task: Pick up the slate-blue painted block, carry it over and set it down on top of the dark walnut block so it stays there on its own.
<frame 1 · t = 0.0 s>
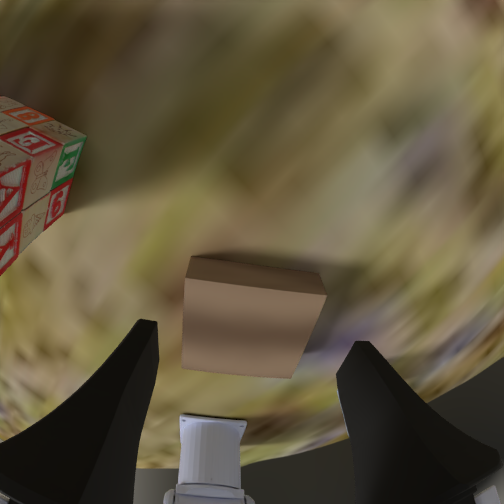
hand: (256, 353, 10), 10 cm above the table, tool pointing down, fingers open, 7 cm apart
walnut block: (245, 310, 23), on the table
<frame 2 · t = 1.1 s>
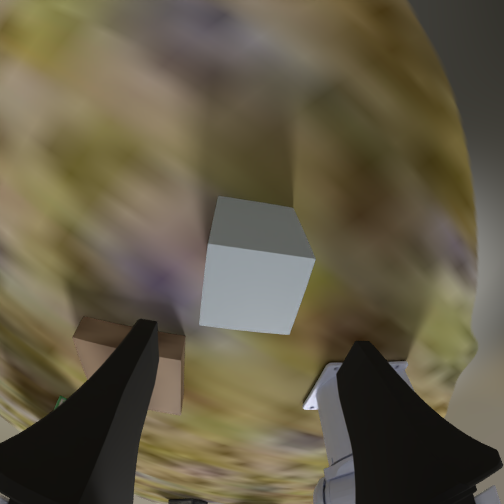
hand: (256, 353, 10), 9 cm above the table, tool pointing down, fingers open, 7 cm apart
walnut block: (137, 357, 24), on the table
small box: (188, 500, 58), on the table
slate block: (249, 235, 18), on the table
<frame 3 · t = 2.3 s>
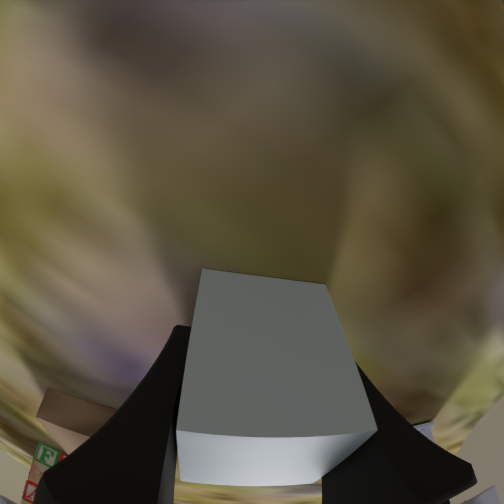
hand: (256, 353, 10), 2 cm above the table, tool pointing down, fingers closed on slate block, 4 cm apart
walnut block: (117, 428, 18), on the table
slate block: (254, 323, 11), on the table, touching gripper
stack of blocks: (65, 465, 27), on the table
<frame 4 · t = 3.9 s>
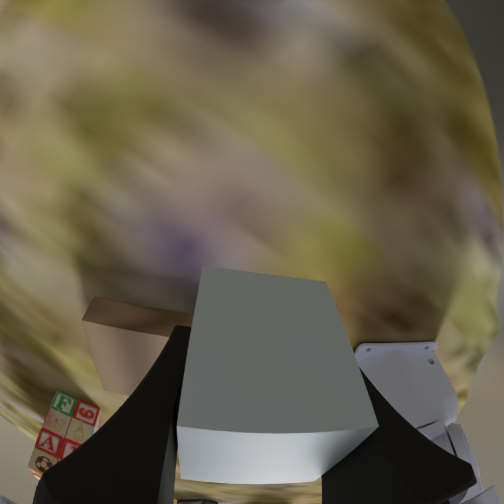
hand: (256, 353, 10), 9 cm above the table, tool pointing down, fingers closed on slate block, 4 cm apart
walnut block: (153, 344, 23), on the table
small box: (197, 501, 57), on the table
slate block: (255, 320, 11), point 7 cm above the table, touching gripper
stack of blocks: (81, 425, 32), on the table
when the fingers open (6 cm above the table, at t = 5.6 s): slate block drops 2 cm, resting on walnut block.
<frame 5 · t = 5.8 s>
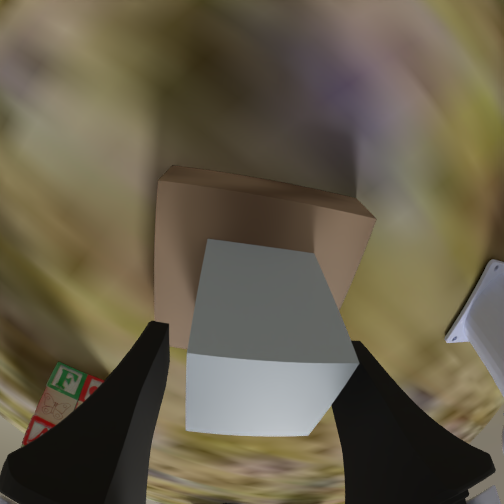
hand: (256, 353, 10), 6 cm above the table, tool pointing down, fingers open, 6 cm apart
walnut block: (250, 258, 16), on the table, touching slate block
slate block: (252, 290, 13), point 3 cm above the table, touching walnut block
stack of blocks: (91, 417, 25), on the table
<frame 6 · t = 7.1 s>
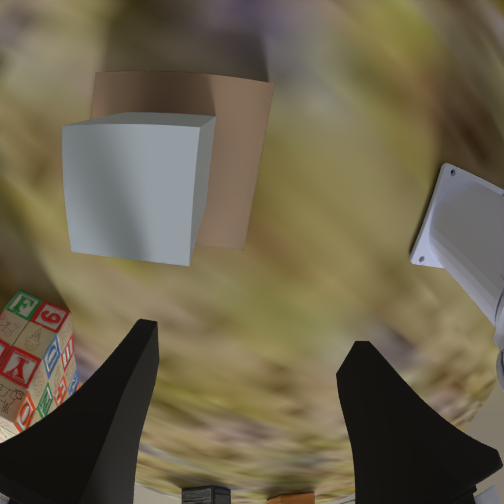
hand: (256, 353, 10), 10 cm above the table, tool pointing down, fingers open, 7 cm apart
walnut block: (179, 149, 16), on the table, touching slate block
small box: (206, 489, 50), on the table
slate block: (166, 157, 14), point 2 cm above the table, touching walnut block
stack of blocks: (56, 364, 26), on the table
whiskey bottle: (290, 496, 58), on the table
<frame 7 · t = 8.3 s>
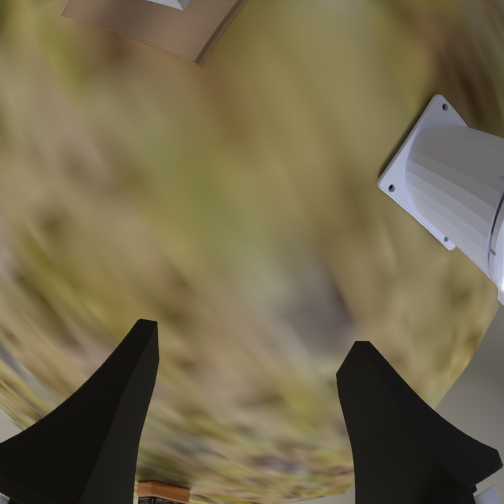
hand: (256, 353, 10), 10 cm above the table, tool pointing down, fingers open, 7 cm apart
whiskey bottle: (163, 486, 51), on the table
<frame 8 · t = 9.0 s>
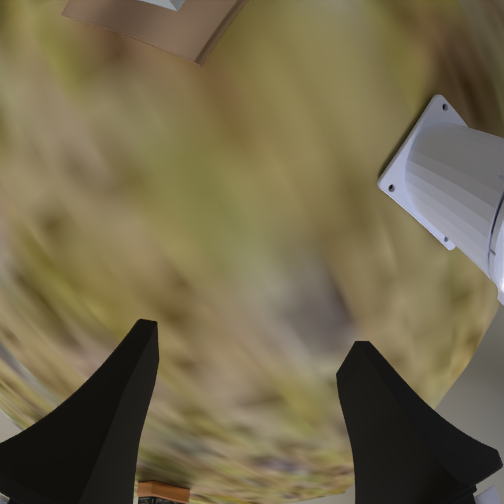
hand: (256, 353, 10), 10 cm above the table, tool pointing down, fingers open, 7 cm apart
whiskey bottle: (163, 486, 51), on the table
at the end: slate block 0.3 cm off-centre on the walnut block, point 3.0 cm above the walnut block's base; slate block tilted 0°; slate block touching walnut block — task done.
